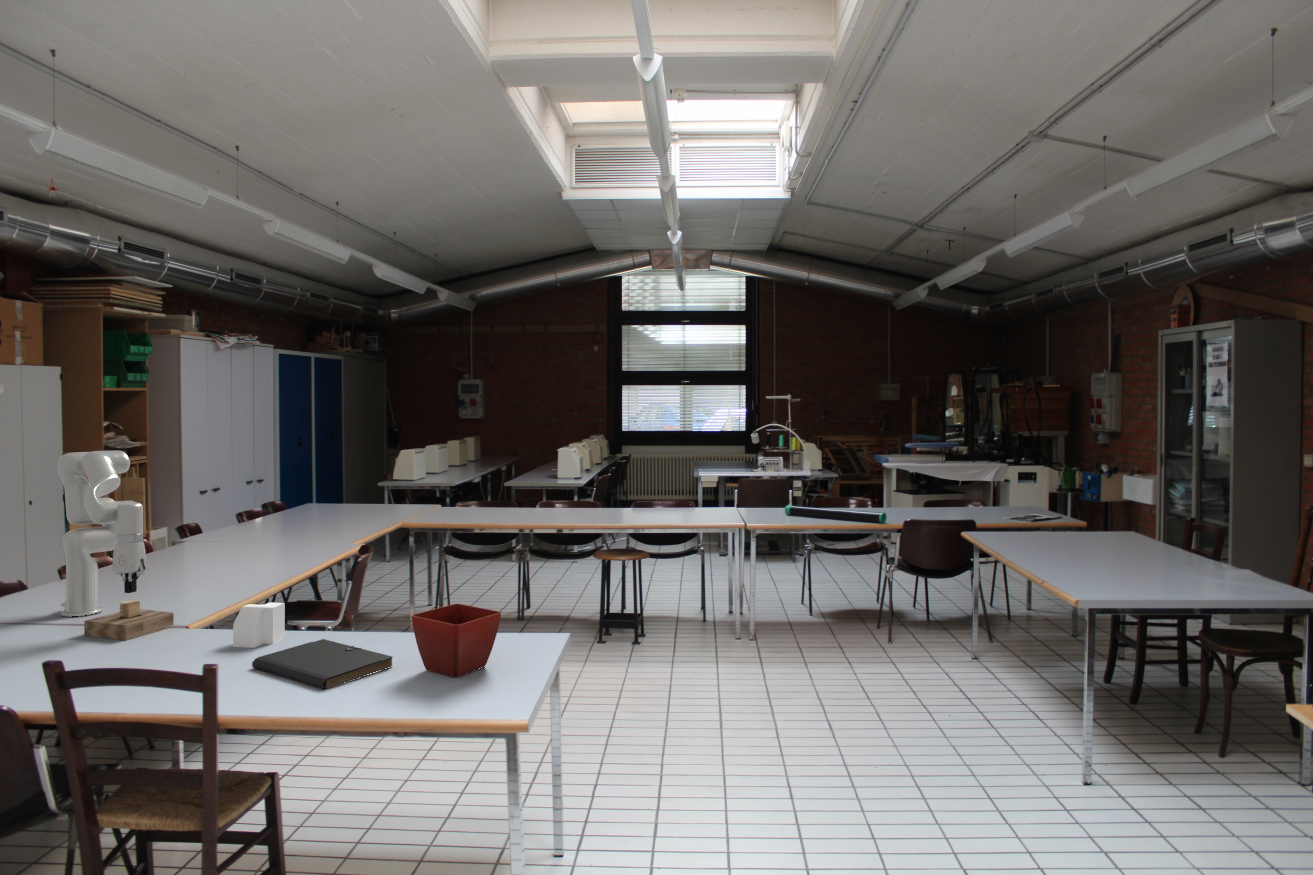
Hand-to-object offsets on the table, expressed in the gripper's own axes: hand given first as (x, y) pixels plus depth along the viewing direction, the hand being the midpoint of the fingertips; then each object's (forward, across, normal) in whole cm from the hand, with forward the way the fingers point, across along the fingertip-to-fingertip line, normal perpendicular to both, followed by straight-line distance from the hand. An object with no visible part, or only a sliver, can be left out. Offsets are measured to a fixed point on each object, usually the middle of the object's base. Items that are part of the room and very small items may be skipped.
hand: (130, 592), depth 267 cm
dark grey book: (+16, +88, -12) cm, 90 cm away
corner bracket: (+15, +50, +3) cm, 52 cm away
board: (+13, -1, 0) cm, 14 cm away
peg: (+13, -1, 0) cm, 14 cm away
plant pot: (+16, +125, -1) cm, 126 cm away
